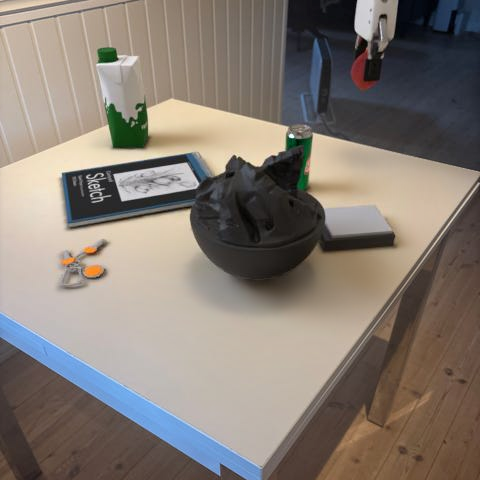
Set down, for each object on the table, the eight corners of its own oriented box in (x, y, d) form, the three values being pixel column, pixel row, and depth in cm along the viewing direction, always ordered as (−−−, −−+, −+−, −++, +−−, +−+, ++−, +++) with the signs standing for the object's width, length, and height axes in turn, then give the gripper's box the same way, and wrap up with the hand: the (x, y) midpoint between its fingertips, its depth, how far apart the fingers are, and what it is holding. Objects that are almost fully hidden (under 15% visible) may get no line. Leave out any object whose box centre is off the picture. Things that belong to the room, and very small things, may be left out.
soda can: (309, 193, 97) (314, 133, 89) (283, 193, 97) (286, 133, 89) (307, 182, 101) (312, 123, 93) (282, 182, 101) (285, 123, 93)
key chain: (102, 284, 75) (100, 280, 75) (53, 288, 75) (51, 284, 74) (108, 240, 85) (107, 236, 84) (65, 243, 84) (64, 239, 83)
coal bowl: (191, 309, 71) (179, 190, 58) (197, 235, 86) (188, 127, 73) (328, 306, 71) (345, 186, 59) (310, 232, 86) (321, 125, 73)
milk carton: (117, 135, 121) (100, 44, 107) (153, 135, 120) (141, 44, 107) (108, 149, 114) (90, 54, 101) (146, 149, 114) (133, 54, 100)
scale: (373, 215, 90) (376, 203, 88) (393, 245, 83) (396, 232, 81) (308, 220, 89) (309, 207, 87) (322, 251, 82) (324, 237, 80)
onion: (384, 92, 98) (391, 47, 93) (361, 97, 96) (367, 52, 91) (365, 84, 102) (371, 41, 97) (343, 89, 100) (348, 45, 95)
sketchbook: (62, 178, 103) (60, 169, 102) (199, 158, 110) (199, 149, 109) (69, 228, 88) (66, 218, 87) (228, 201, 95) (227, 191, 93)
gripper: (420, -31, 79) (399, 87, 91) (384, -42, 92) (370, 63, 104) (375, -28, 79) (360, 90, 91) (346, -40, 91) (335, 65, 103)
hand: (365, 74), depth 97 cm, fingers closed on onion, 5 cm apart
